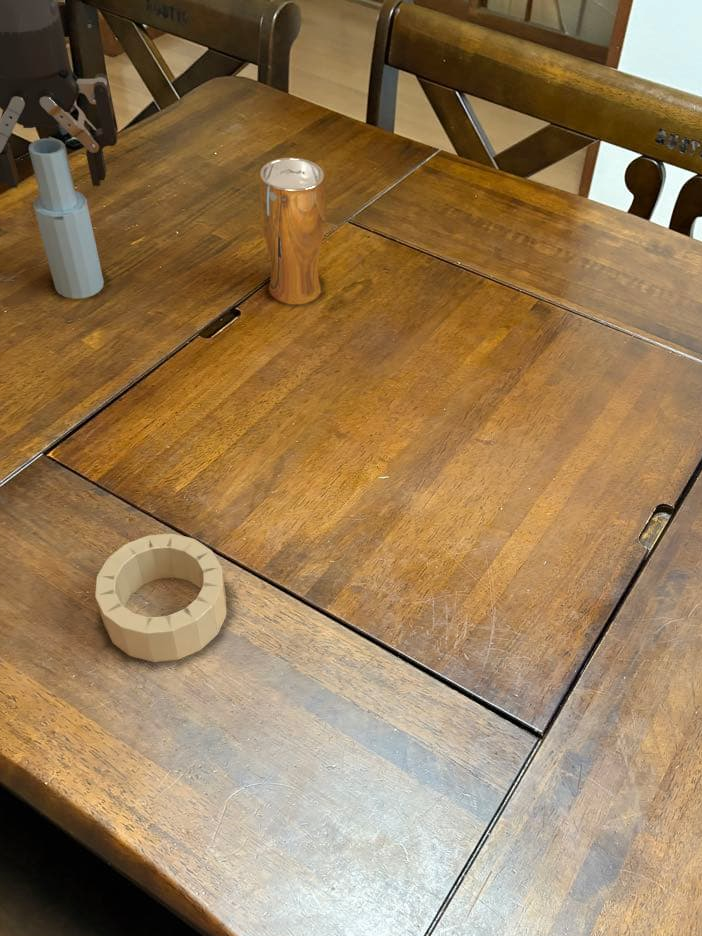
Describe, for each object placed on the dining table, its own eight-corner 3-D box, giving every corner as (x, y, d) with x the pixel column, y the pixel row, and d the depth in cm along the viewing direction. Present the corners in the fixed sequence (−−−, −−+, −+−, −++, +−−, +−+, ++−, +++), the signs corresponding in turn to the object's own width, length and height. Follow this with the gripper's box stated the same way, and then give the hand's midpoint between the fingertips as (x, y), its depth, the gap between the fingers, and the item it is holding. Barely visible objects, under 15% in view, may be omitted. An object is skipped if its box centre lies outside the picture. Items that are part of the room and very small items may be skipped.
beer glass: (317, 318, 104) (317, 196, 92) (257, 308, 104) (249, 185, 92) (331, 283, 108) (332, 162, 96) (273, 273, 108) (268, 151, 97)
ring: (103, 672, 73) (91, 638, 69) (109, 575, 79) (99, 538, 75) (228, 661, 74) (223, 626, 70) (225, 566, 80) (220, 529, 76)
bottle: (55, 306, 102) (16, 160, 88) (59, 278, 105) (22, 133, 92) (103, 304, 102) (72, 159, 89) (106, 277, 106) (75, 133, 93)
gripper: (100, -6, 84) (129, 163, 97) (-65, -8, 82) (-13, 165, 95) (95, 29, 80) (126, 201, 92) (-79, 27, 78) (-23, 204, 90)
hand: (55, 182), depth 93 cm, fingers open, 7 cm apart
